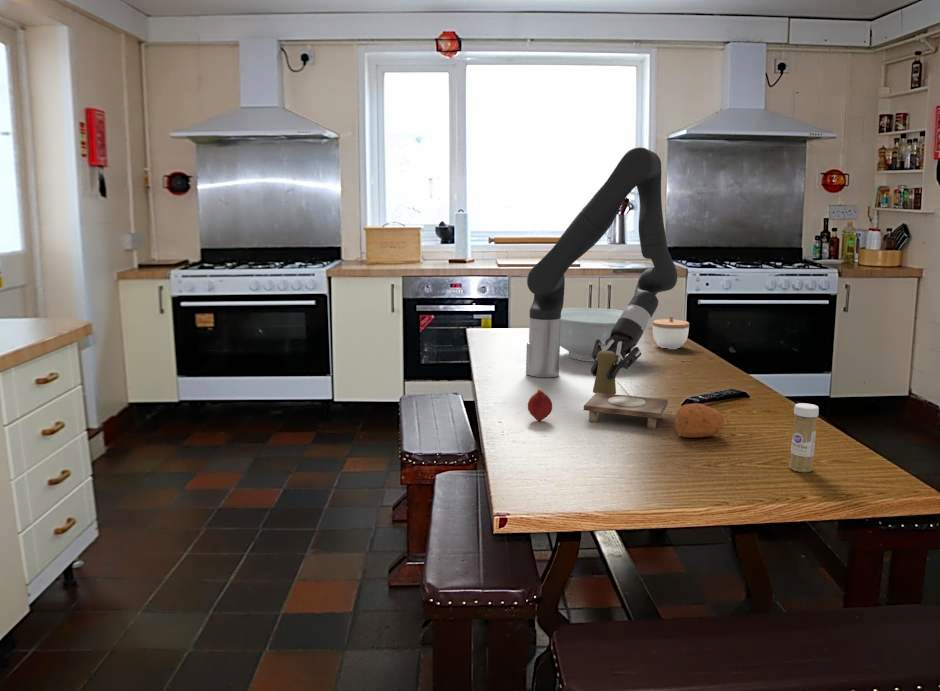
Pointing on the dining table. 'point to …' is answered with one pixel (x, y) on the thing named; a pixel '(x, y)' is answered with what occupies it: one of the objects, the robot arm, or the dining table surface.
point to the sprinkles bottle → (803, 437)
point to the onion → (539, 405)
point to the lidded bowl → (670, 332)
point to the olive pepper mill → (604, 373)
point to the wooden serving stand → (626, 406)
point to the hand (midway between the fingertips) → (601, 376)
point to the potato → (698, 421)
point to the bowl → (585, 329)
